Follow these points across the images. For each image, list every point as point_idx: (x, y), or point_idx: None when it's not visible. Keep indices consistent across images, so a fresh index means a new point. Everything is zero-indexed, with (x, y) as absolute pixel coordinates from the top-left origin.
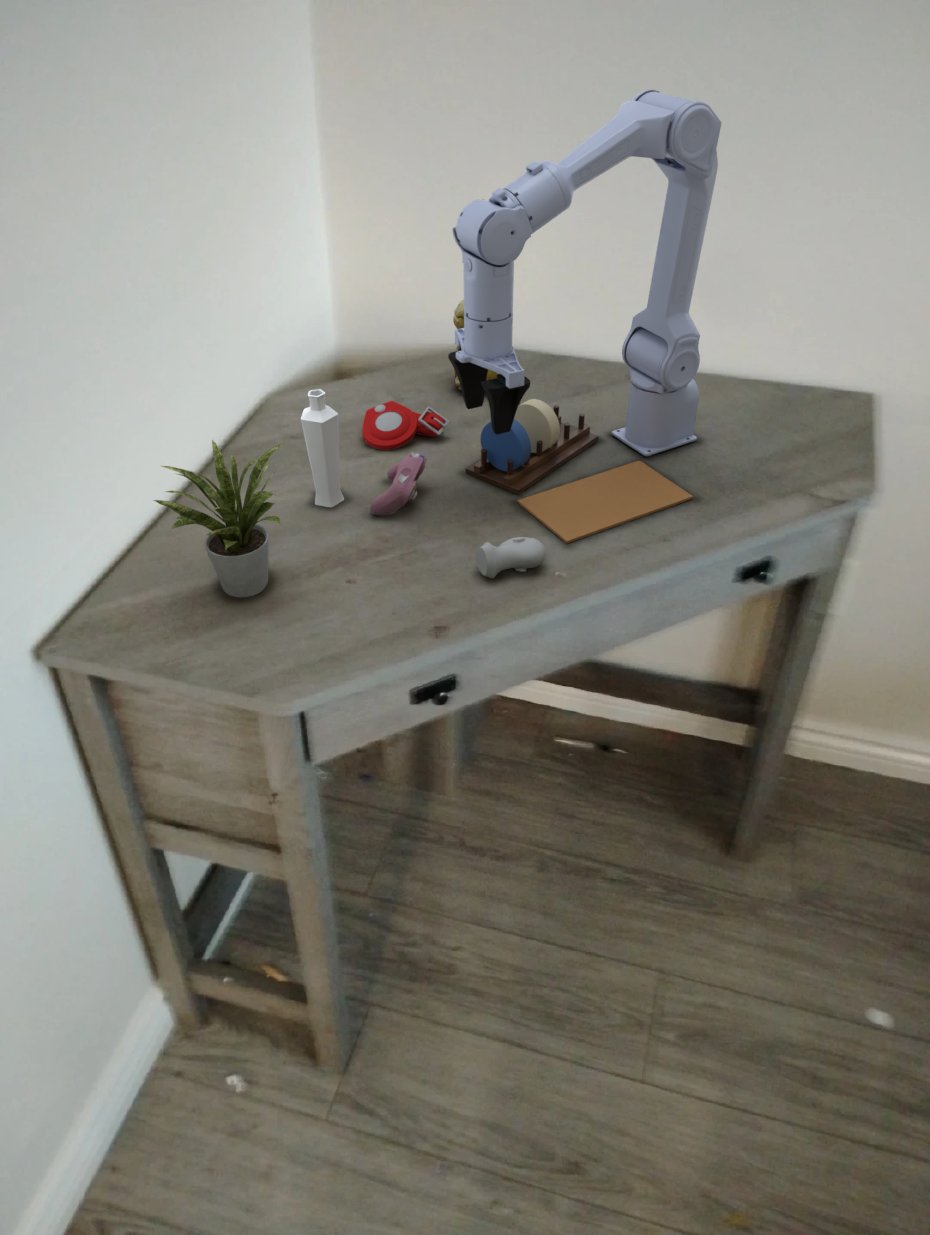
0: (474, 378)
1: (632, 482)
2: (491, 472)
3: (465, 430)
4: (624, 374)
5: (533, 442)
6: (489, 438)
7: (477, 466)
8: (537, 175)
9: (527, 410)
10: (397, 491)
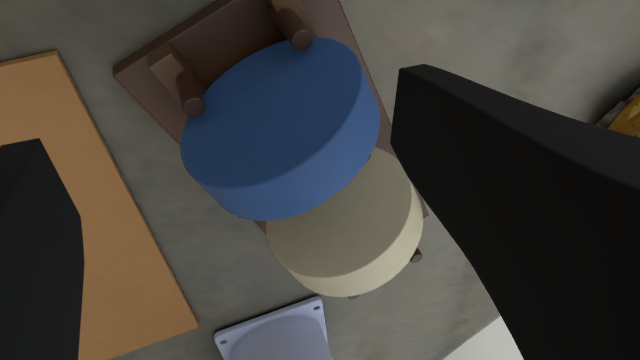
0: (511, 227)
1: (107, 314)
2: (254, 27)
3: (513, 33)
4: (471, 318)
5: None
6: (319, 83)
7: None
8: None
9: (370, 240)
10: None
